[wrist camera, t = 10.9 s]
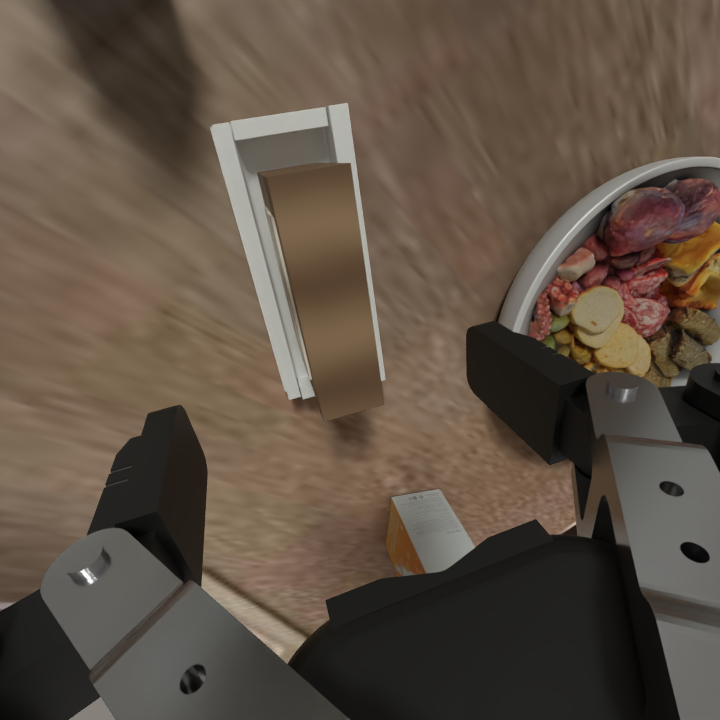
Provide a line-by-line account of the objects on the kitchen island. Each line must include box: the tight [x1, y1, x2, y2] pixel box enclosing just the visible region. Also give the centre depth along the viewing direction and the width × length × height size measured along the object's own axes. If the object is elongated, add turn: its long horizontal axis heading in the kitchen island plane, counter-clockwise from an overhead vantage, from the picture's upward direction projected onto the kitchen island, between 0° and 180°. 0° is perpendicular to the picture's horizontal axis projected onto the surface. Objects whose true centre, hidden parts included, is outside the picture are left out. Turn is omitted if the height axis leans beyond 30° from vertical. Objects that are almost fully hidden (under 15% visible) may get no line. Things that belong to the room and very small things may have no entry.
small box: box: [385, 489, 475, 577], centre depth 42 cm, size 8×6×13 cm
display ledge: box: [210, 103, 385, 400], centre depth 30 cm, size 8×20×4 cm, turn 9°
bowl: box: [498, 157, 720, 388], centre depth 39 cm, size 30×30×8 cm
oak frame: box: [257, 163, 384, 422], centre depth 26 cm, size 14×4×10 cm, turn 9°
